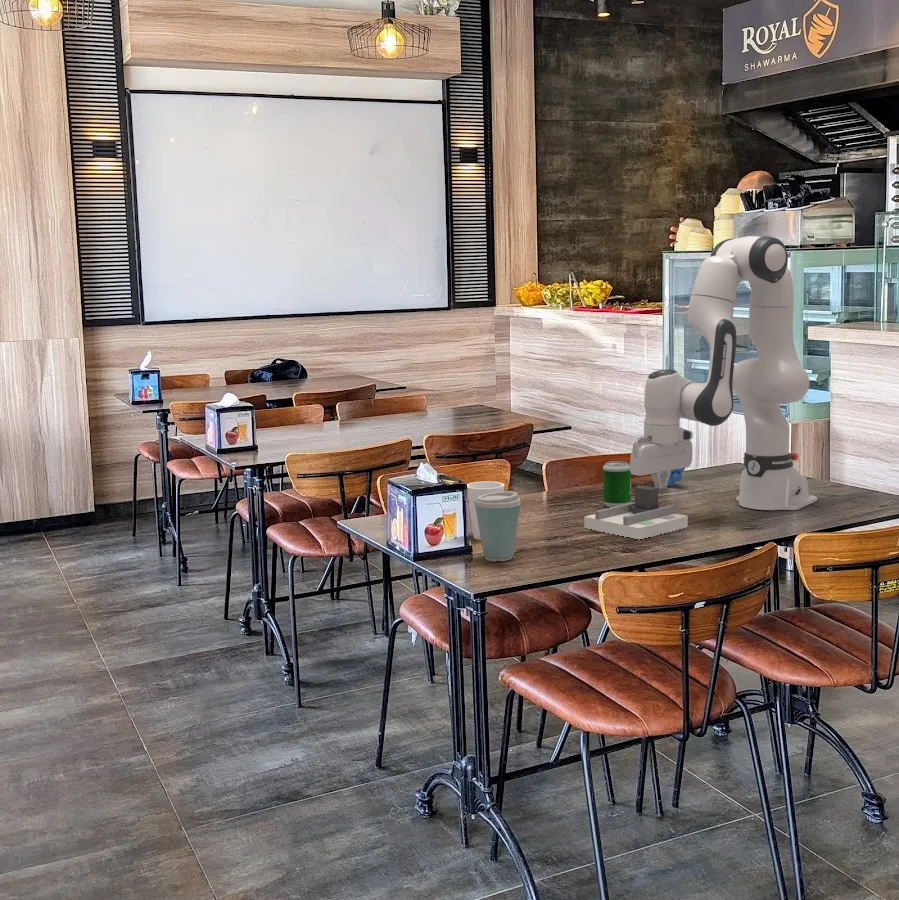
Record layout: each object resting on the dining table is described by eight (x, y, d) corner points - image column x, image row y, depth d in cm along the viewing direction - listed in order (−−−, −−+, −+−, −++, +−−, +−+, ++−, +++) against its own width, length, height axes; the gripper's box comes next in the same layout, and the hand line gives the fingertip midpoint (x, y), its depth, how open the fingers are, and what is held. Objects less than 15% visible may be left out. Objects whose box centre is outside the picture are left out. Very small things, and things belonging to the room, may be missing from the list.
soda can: (630, 509, 297) (630, 465, 295) (602, 509, 299) (601, 465, 297) (631, 503, 304) (631, 460, 302) (604, 503, 306) (603, 460, 304)
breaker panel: (632, 516, 289) (632, 497, 288) (687, 527, 275) (687, 507, 275) (584, 528, 278) (584, 508, 277) (639, 540, 264) (639, 520, 263)
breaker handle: (642, 508, 283) (642, 484, 282) (663, 512, 278) (663, 488, 277) (629, 511, 280) (629, 487, 279) (650, 515, 274) (650, 491, 273)
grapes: (694, 487, 323) (694, 446, 321) (679, 490, 319) (679, 449, 317) (663, 481, 333) (664, 442, 331) (648, 485, 328) (648, 445, 326)
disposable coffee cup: (476, 565, 247) (474, 499, 245) (474, 552, 258) (473, 489, 255) (523, 563, 247) (522, 498, 245) (520, 551, 258) (519, 488, 255)
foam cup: (467, 532, 277) (466, 481, 275) (504, 531, 277) (503, 480, 275) (467, 542, 268) (465, 489, 266) (505, 541, 268) (504, 488, 265)
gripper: (643, 440, 270) (642, 496, 272) (697, 431, 283) (695, 485, 285) (624, 437, 275) (623, 492, 277) (677, 429, 288) (676, 481, 290)
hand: (660, 488), depth 281 cm, fingers closed
